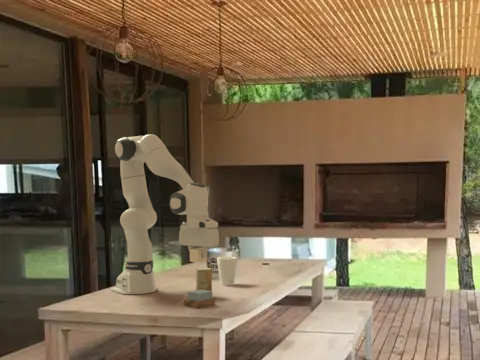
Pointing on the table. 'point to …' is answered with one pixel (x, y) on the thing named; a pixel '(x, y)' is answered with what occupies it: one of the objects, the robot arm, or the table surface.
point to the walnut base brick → (198, 303)
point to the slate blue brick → (200, 295)
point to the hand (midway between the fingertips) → (198, 257)
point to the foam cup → (227, 270)
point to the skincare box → (204, 279)
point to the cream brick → (196, 255)
